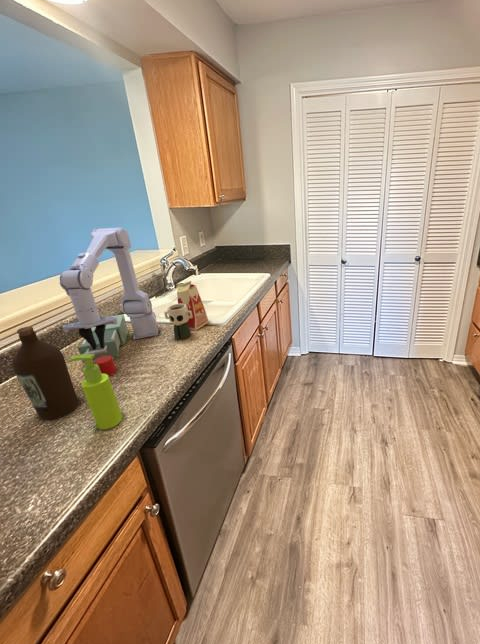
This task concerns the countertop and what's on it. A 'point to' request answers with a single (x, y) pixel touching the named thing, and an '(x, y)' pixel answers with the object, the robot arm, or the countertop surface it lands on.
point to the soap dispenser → (99, 393)
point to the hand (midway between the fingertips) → (99, 347)
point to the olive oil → (44, 376)
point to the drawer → (110, 347)
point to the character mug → (179, 319)
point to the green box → (118, 328)
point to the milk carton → (192, 305)
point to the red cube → (106, 365)
